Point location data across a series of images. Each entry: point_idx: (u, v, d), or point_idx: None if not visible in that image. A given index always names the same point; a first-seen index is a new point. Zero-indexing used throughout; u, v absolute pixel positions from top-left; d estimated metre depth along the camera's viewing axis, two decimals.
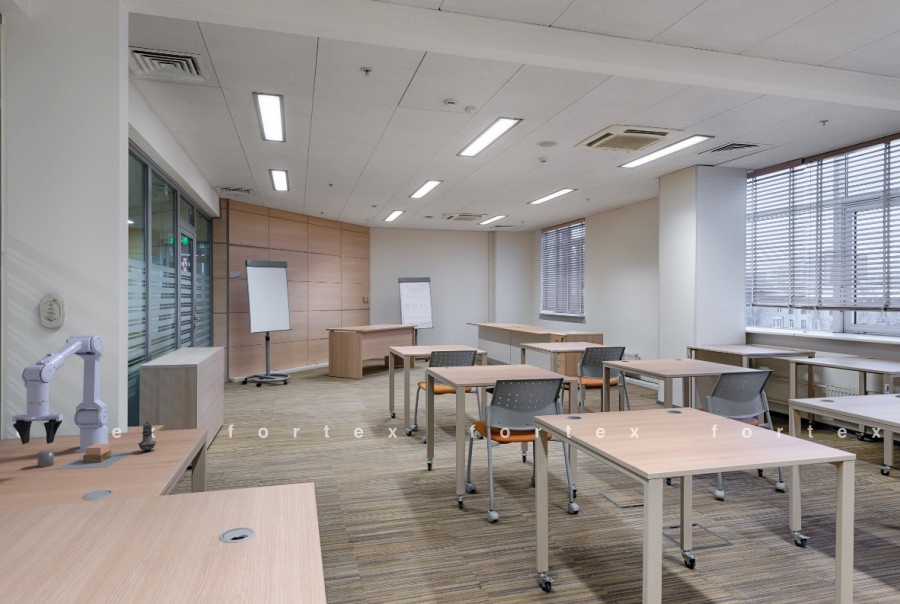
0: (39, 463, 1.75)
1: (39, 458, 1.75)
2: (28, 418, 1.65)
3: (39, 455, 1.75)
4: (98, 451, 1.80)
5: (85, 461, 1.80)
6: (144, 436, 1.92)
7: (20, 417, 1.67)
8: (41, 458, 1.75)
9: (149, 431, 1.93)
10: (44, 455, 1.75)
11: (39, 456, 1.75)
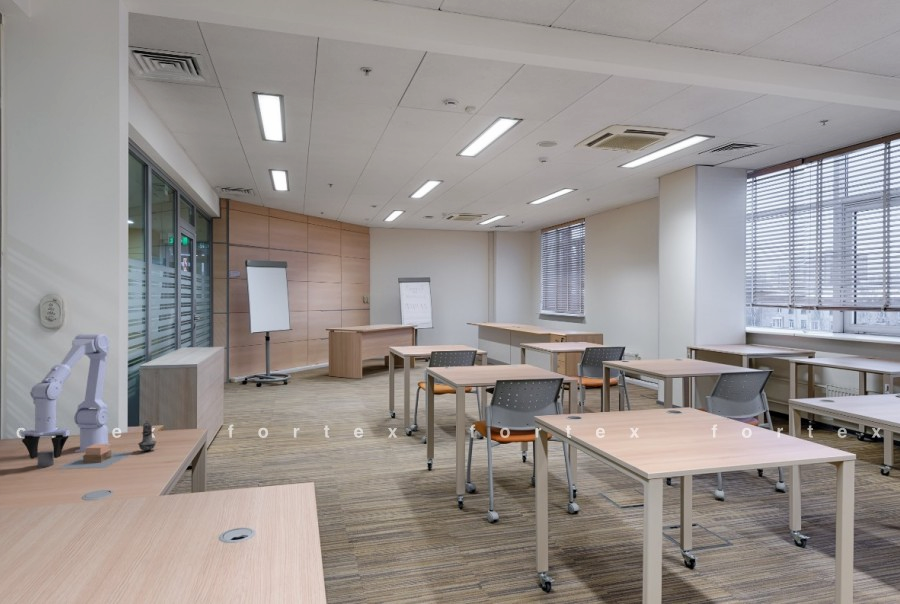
0: (39, 463, 1.75)
1: (39, 458, 1.75)
2: (36, 434, 1.73)
3: (39, 455, 1.75)
4: (98, 451, 1.80)
5: (85, 461, 1.80)
6: (144, 436, 1.92)
7: (29, 433, 1.75)
8: (41, 458, 1.75)
9: (149, 431, 1.93)
10: (44, 455, 1.75)
11: (39, 456, 1.75)
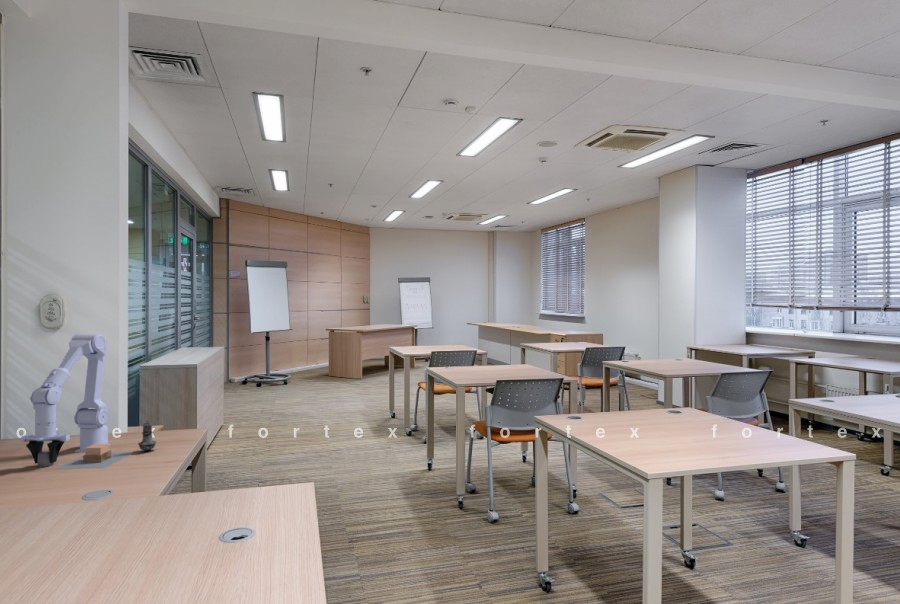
0: (39, 463, 1.75)
1: (39, 458, 1.75)
2: (36, 439, 1.73)
3: (39, 455, 1.75)
4: (98, 451, 1.80)
5: (85, 461, 1.80)
6: (144, 436, 1.92)
7: (29, 438, 1.75)
8: (41, 458, 1.75)
9: (149, 431, 1.93)
10: (44, 455, 1.75)
11: (39, 456, 1.75)
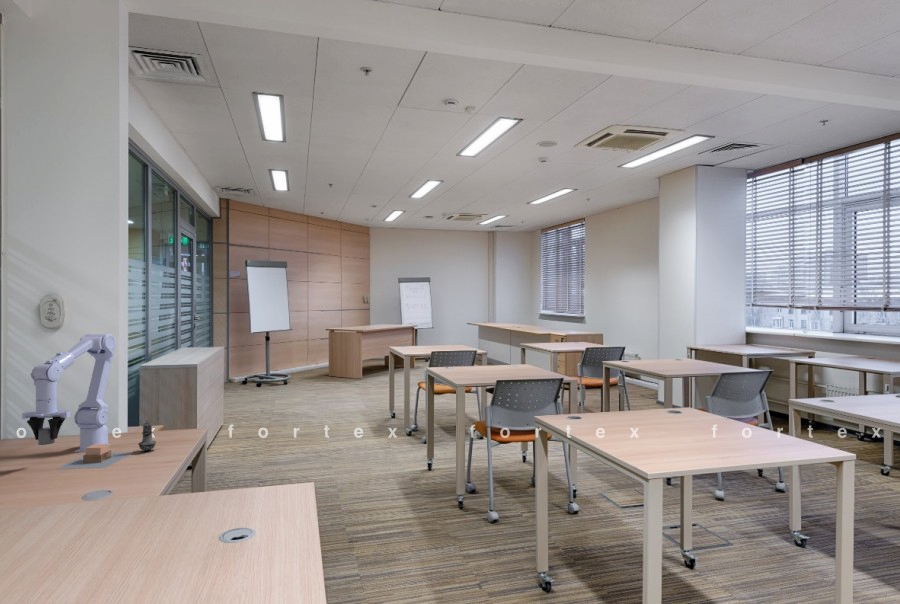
0: (40, 439, 1.75)
1: (40, 434, 1.75)
2: (37, 415, 1.73)
3: (40, 431, 1.75)
4: (98, 451, 1.80)
5: (85, 461, 1.80)
6: (144, 436, 1.92)
7: (29, 414, 1.75)
8: (42, 434, 1.75)
9: (149, 431, 1.93)
10: (45, 431, 1.75)
11: (40, 432, 1.75)
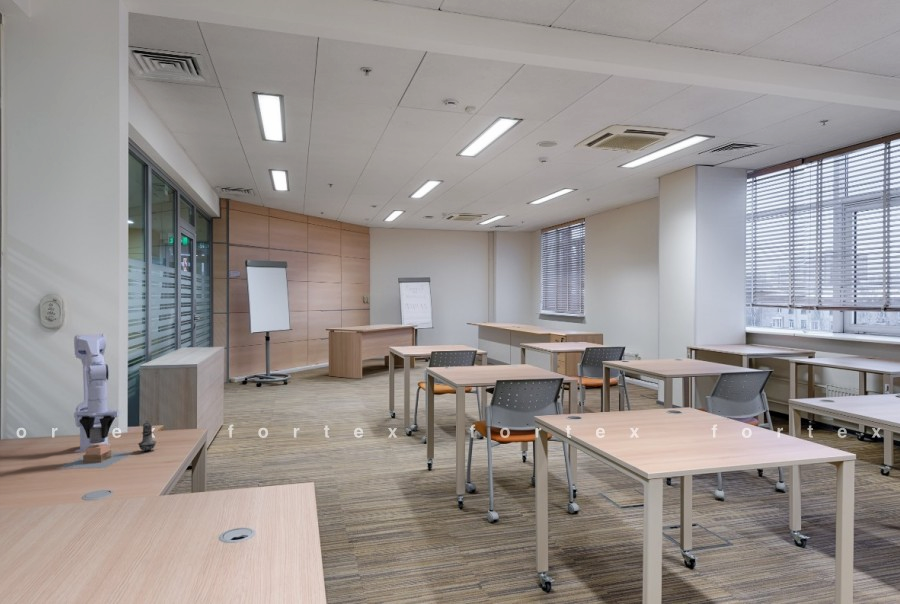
0: (91, 438, 1.81)
1: (91, 433, 1.81)
2: (90, 414, 1.79)
3: (91, 430, 1.81)
4: (98, 451, 1.80)
5: (85, 461, 1.80)
6: (144, 436, 1.92)
7: (81, 413, 1.81)
8: (93, 433, 1.80)
9: (149, 431, 1.93)
10: (96, 430, 1.81)
11: (91, 431, 1.81)
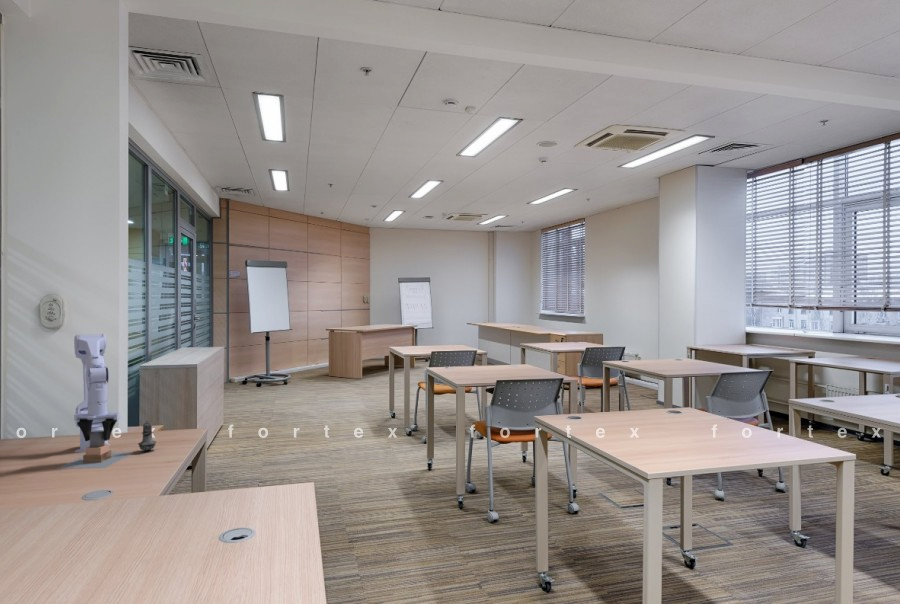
0: (91, 442, 1.81)
1: (91, 437, 1.81)
2: (90, 417, 1.79)
3: (91, 434, 1.81)
4: (98, 451, 1.80)
5: (85, 461, 1.80)
6: (144, 436, 1.92)
7: (81, 416, 1.81)
8: (93, 437, 1.80)
9: (149, 431, 1.93)
10: (96, 434, 1.81)
11: (91, 435, 1.81)
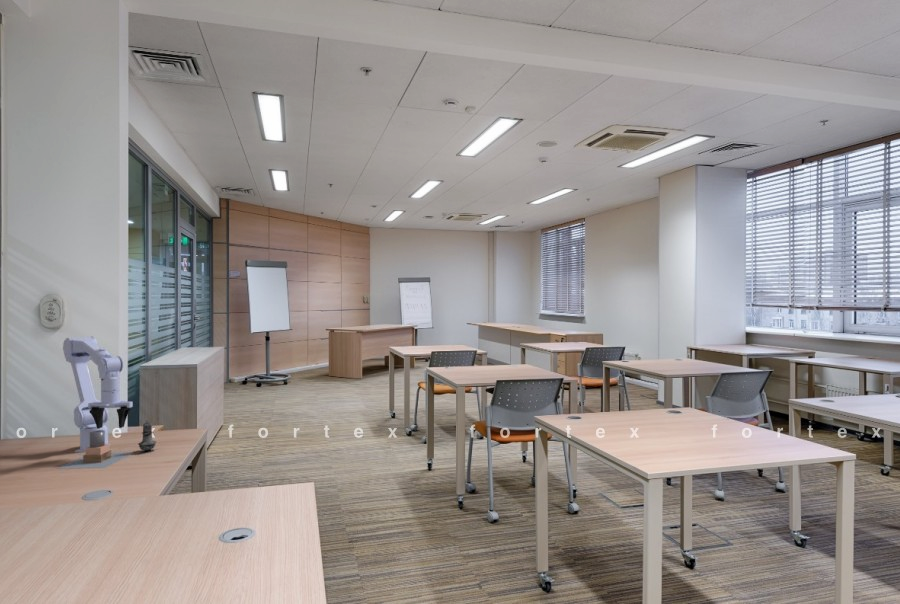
0: (91, 442, 1.81)
1: (91, 437, 1.81)
2: (103, 405, 1.85)
3: (91, 434, 1.81)
4: (98, 451, 1.80)
5: (85, 461, 1.80)
6: (144, 436, 1.92)
7: (95, 404, 1.87)
8: (93, 437, 1.80)
9: (149, 431, 1.93)
10: (96, 434, 1.81)
11: (91, 435, 1.81)
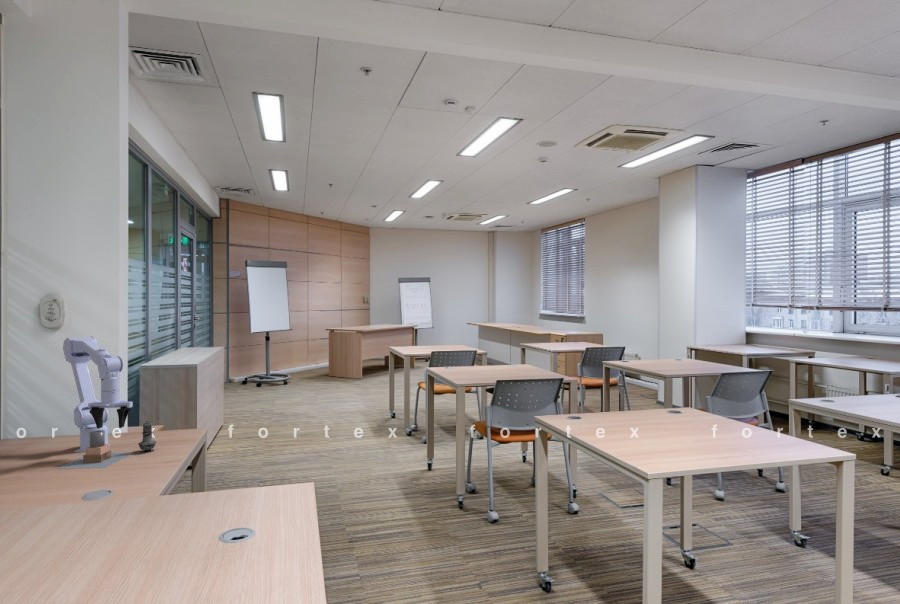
0: (91, 442, 1.81)
1: (91, 437, 1.81)
2: (103, 405, 1.85)
3: (91, 434, 1.81)
4: (98, 451, 1.80)
5: (85, 461, 1.80)
6: (144, 436, 1.92)
7: (95, 404, 1.87)
8: (93, 437, 1.80)
9: (149, 431, 1.93)
10: (96, 434, 1.81)
11: (91, 435, 1.81)
